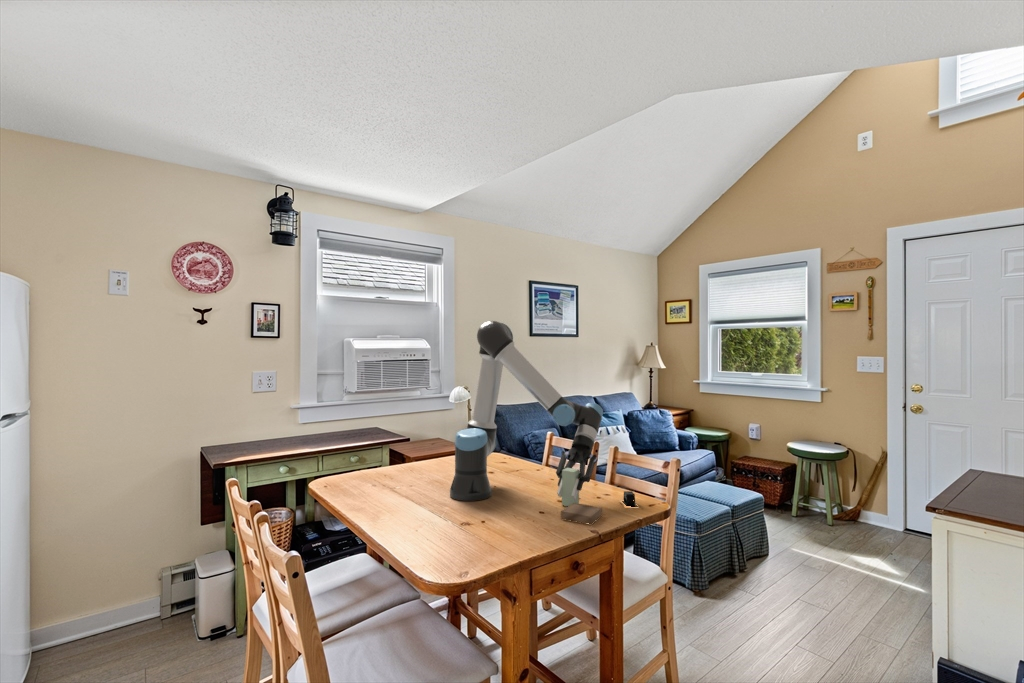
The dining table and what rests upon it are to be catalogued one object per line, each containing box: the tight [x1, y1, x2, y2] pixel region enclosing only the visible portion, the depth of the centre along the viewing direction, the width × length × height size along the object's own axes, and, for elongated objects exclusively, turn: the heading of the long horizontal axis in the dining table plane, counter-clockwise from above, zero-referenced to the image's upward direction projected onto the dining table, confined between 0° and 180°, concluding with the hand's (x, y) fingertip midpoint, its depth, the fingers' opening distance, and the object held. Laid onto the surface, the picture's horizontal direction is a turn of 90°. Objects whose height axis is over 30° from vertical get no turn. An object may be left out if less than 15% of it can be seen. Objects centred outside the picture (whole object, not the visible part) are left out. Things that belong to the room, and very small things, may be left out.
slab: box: [560, 503, 603, 525], centre depth 156 cm, size 10×10×3 cm
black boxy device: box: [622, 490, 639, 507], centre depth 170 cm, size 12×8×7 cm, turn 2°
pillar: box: [561, 467, 580, 507], centre depth 169 cm, size 4×4×12 cm
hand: (566, 496), depth 166 cm, fingers closed on pillar, 4 cm apart
